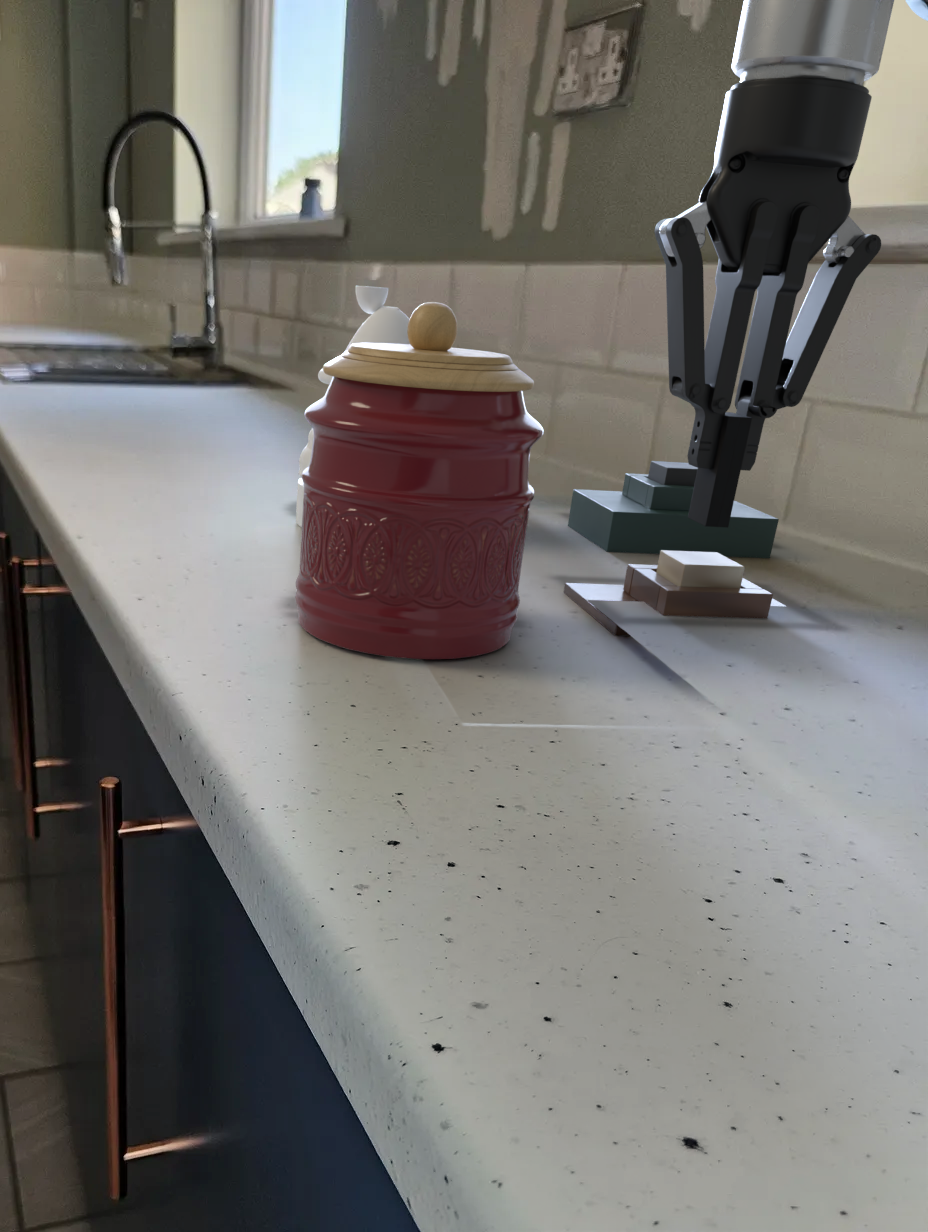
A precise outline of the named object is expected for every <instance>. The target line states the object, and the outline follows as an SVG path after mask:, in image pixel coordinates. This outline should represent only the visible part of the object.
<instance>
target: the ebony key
mask: <svg viewBox="0 0 928 1232" xmlns="http://www.w3.org/2000/svg"><path fill="white" fill-rule="evenodd" d="M697 469H698V468H697V467H695V466H692V465H689V463H688V462H684V461H683V462H682V461H681V462H680V461H661V460H651V461H650V465H649V469H648V474H649V475H648V479H650V480H653V481H655V482H657V483H659V484H661V485H678V486H694V484H695V479H696V474H697Z"/></svg>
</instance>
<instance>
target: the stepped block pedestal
mask: <svg viewBox="0 0 928 1232" xmlns="http://www.w3.org/2000/svg"><path fill="white" fill-rule="evenodd" d="M657 566H658V564H642V563H641V564H637V563H633V564H632V563H628V564H627V567H626V570H625V571H626V572H625V578H624V583H623V584H612V583H611V584H607V583H581V582H580V583H579V582H565V583H564V586H563V594H565V595H566V596H567V597H568V598H569V599H571V600H572V601H573V602H574V603H575V604H577V605H578V607H580V608H581V609H582V610H583V611H585V612H586V613H587V614H588V615H590V616H591V617H592V618H593V619H595V620H596V621H597V622H598V623H599V624H600V625H602V626H603V627H604V628H605V629H606V630H608V631H609V632H610V634H612V635H614V636H619V637H620V636H621V637H622V636H623V637H631V636H632V635H631V634H629V633H628V632H627V631H626V630H624V628H622V627H621V626H620V625H618V624H617V623H616V622H615V621H613V620H612V619H611V618H610V617H608V616H607V615H606V614H605V613H604V612H602V611H601V610H600V609H598V608H597V607H596V606H595V605H593V603H591V602H590V601H609V602H610V601H612V602H613V601H614V602H638V603H639V602H640V603H641V602H642V603H645V604H646V605H648V606H649V607H650V608H652V609H654V611H656V612H658V613H659V614H661V615H662V616H665V617H666V616H667V617H669V616H670V617H697V618H698V617H699V618H701V617H703V618H729V619H730V618H731V619H759V620H761V619H762V620H763V619H764V620H767V619H768V618H769V613H770V609H771V607H786V604H784V603H782V602H780V601H778V600H776V599H774V598H773V596H774V594H773V593H771V592H770V591H768V590H766V589H764V588H762V587H760V586H759V585H757V584H755V583H753V582H751V581H749V580H748V579H746V578H744V577H743V578H742V583H741V587H740V588H712V587H683V586H677V585H675V584H673V583H672V582H670V581H669V580H667V579H666V578H664V577H662V576H661V575H659V574H658V573H656V571H657Z"/></svg>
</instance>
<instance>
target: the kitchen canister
mask: <svg viewBox="0 0 928 1232" xmlns="http://www.w3.org/2000/svg"><path fill="white" fill-rule="evenodd" d="M407 333H408V339H409V342H410V344H411V345H410V344H390V343H356V344H352V345H351V346H350V347H349V348H348V350H347V351H346V352H345V351H344V352H343V353H341V354H340V355H338V356H336V357H335V358H333V359H330V360H329V361H328V362H326V363H324V364H323V366H322V368H323V371H324V373H325V374H327V375H330V376H333V378H332V380H331V383H330V386H329V385H328V386H329V388H328V387H327V389H328V390H327V389H326V391H327V392H325V393H324V395H323V397H321V398H320V399H319V400H317V401H315V402H314V403H312V404H311V405H309V406H308V407H307V408H306V409H305V411H304V417H305V420H306V421H307V422H308V424H309V425H310V427H311V429H312V428H313V431H314V438H313V447H312V455H311V461H310V465H309V467H307V468H306V469H305V470H304V471H303V473H302V477H301V478H302V481H303V483H304V497H303V516H302V527H301V536H300V555H299V570H298V575H297V577H296V579H295V588H296V591H295V595H294V599H295V600H294V601H295V604H296V607H297V617H298V619H297V620H298V624H299V625H300V626H301V628H302V629H303V630H304V631H305V632H306V633H308V634H310V635H311V636H312V637H314V638H316V639H318V640H320V641H323V642H324V643H327V644H330V645H332V646H337V647H339V648H343V649H347V650H350V651H354V652H359V653H364V654H369V655H375V656H381V657H382V656H383V657H387V658H389V657H390V658H397V659H398V658H399V659H409V660H454V659H461V658H462V659H465V658H472V657H477V656H481V655H482V656H483V655H485V654H489V653H492V652H495V651H497V650H500V649H501V648H502V647H504V646H505V645H507V644H508V643H509V641H510V640H511V636H512V631H513V628H514V626H515V623H516V622H517V620H518V617H519V612H518V608H519V606H520V602H521V598H520V594H519V587H520V579H521V574H522V565H523V557H524V550H525V543H526V536H527V529H528V521H529V514H530V509H531V508H530V507H531V503H532V501H533V500H534V498H535V490H534V487H532V485H531V484H530V481H529V480H530V479H529V477H530V476H529V475H530V474H529V473H530V459H531V450H532V448H533V446H534V445H535V444H536V443H537V442H538V441H539V440H540V439H541V438H542V437H543V435H544V432H545V431H544V428H543V426H542V424H540V422H539V421H538V420H537V419H535V418H534V417H533V416H532V415H531V414H529V412H528V411H527V408H526V404H525V398H524V391H529V390H532V389H533V388H534V386H535V381H534V379H533V378H531V376H529V375H527V373H525V372H524V371H522V370H521V369H520V368H519V367H518V366H517V365H516V364H515V363H514V362H513V360H512V357H511V356H510V355H509V354H506V353H505V354H504V353H500V352H494V351H487V350H478V349H472V348H471V349H470V348H461V347H460V348H459V347H453V345H454V343H455V342H456V339H457V335H458V320H457V317H456V315H455V313H454V311H453V309H452V308H450V306H448V305H447V304H445V303H443V302H438V301H437V302H436V301H427V302H424V303H422V304H419V305H418V306H417V307H415V309H414V310H413V311H412V314H411V315H410V316H409V323H408V329H407Z"/></svg>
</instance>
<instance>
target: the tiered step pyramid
mask: <svg viewBox="0 0 928 1232" xmlns="http://www.w3.org/2000/svg"><path fill="white" fill-rule="evenodd" d="M648 475H649V473H646V474H645V473H627V472H626V473H625V474H624V480H623V485H622V490H621V491H620V490H599V489H582V488H581V489H578V488H574V489H573V490H572V494H571V495H572V497H571V503H570V509H569V516H568V522H567V527H568V528H570V529H571V530H573V531H575V532H576V533H578V534H579V535H581V536H582V537H583V538H585V539H587V540H588V541H590V542H591V543H593V544H594V545H596V546H597V547H599V548H600V549H602V550H603V551H605V552H607V553H629V554H650V555H651V554H654V555H660V551H661V550H670V551H695V552H717V553H719V554H721V555H723V556H725V557H727V558H729V557H730V558H751V559H752V558H753V559H754V558H756V559H770V558H771V554H772V551H773V546H774V541H775V538H776V533H777V530H778V525H779V520H780V519H779V518H777V517H775V516H773V515H771V514H768V513H766V512H763V511H761V510H759V509H756V508H753V507H751V506H749V505H746V504H744V503H742V502H739V501H736V500H734V503H733V508H732V512H731V517H730V521H729V526H728V528H727V527H706V526H704V525H702V524H700V523H698V522H696V521H694V520H692V519H690V518H688V514H689V509H690V504H691V499H692V494H693V489H694V486H678V485H661V484H659V483H657V482H655V481H653V480H650V479H648Z"/></svg>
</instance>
